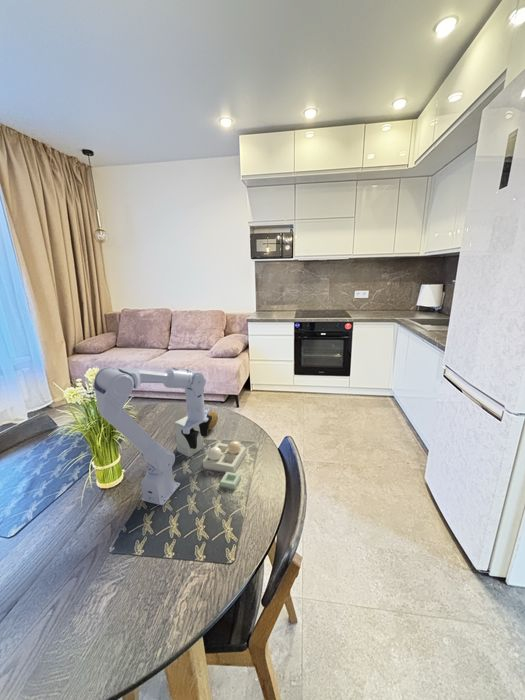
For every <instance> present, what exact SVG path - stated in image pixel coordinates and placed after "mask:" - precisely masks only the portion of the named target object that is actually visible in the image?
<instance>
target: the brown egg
mask: <svg viewBox="0 0 525 700" xmlns="http://www.w3.org/2000/svg"><path fill="white" fill-rule="evenodd" d="M227 445H228V452H229V453H230V454H234V455H236V454H238V453H239V452H240V450H241V447H242V445H241V444H240V442H239V441H237V440H233V441H232V440H231V441H230V442H229V443H228V444H227Z"/></svg>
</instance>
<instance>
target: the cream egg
mask: <svg viewBox="0 0 525 700" xmlns="http://www.w3.org/2000/svg"><path fill="white" fill-rule="evenodd" d="M207 455H208V457H209V459H210V460H212V461H217V460H219V459H220V458H221V455H222V452H221V450H220V448H218V447H214V446H213V447H210V449H208V451H207Z"/></svg>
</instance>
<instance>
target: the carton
mask: <svg viewBox="0 0 525 700" xmlns="http://www.w3.org/2000/svg"><path fill="white" fill-rule="evenodd" d="M228 445H229V444H226V443H220V442H217V443H216V444H214V446H213V447H218V448H220V450H221V452H222V455H221V458H220V459H219V460H217V461H212V460H210V459H209V457H208V454H207V455H206V456H205V458H203V460H202V466H203V467H202V468H203V469H204V470H208V471H209V470H210V471H215V472H219V473H226V472H231V473H236V472H237V470H238V468H239V467H240V465H241V463H242V462H243V461H244V458H245V457H246V456H247V448H246V447H245V446H241V450H240V452H239V453H238V454H236V455H234V454H230V453H229V452H228Z"/></svg>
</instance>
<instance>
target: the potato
mask: <svg viewBox="0 0 525 700" xmlns="http://www.w3.org/2000/svg"><path fill="white" fill-rule="evenodd" d="M209 415H210V416H212V420H211V422H210V425H209V429H208V431H209V430H212V429H214V428H215V427H216V425H217V423H218V421H219V416H218V414H217V413H216V412H215V411H210V414H209Z"/></svg>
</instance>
